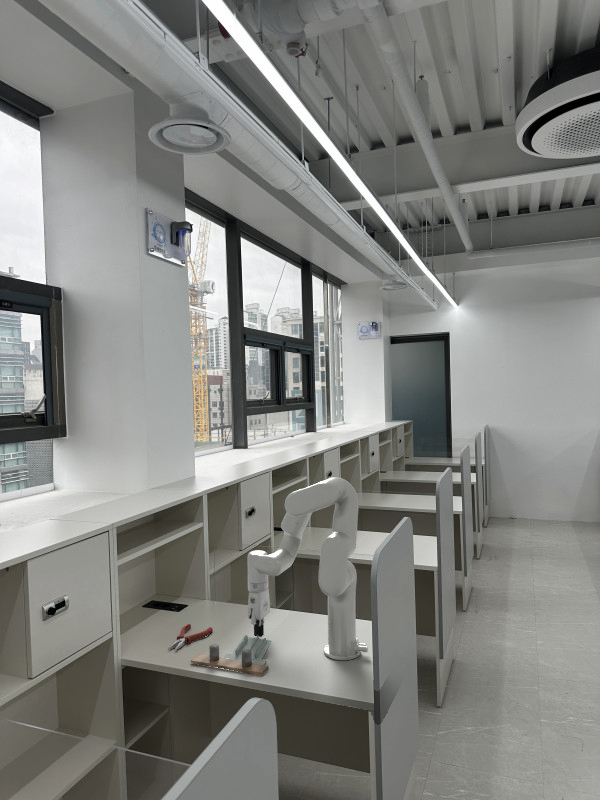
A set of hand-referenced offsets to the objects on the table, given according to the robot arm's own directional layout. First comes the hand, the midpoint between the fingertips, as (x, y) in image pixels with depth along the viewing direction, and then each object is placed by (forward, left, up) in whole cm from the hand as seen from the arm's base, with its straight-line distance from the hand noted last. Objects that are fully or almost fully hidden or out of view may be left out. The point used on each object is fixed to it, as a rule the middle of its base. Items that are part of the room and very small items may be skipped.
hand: (258, 635), depth 204 cm
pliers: (+26, +8, -2) cm, 28 cm away
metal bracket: (-3, +13, -2) cm, 13 cm away
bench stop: (0, +23, -1) cm, 23 cm away
